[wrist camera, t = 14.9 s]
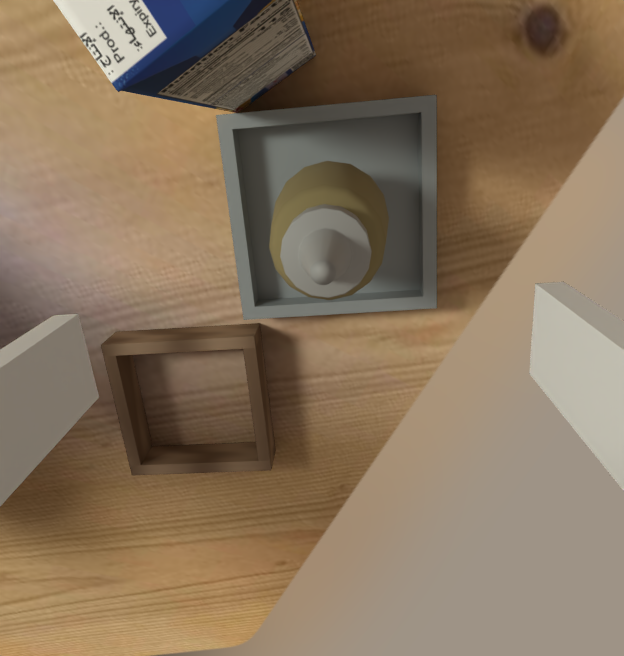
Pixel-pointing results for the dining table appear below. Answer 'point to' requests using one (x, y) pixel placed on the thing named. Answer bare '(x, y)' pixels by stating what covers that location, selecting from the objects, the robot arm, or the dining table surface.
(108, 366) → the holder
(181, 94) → the beverage box
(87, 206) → the dining table surface
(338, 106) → the tray
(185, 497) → the dining table surface
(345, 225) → the squeeze bottle
